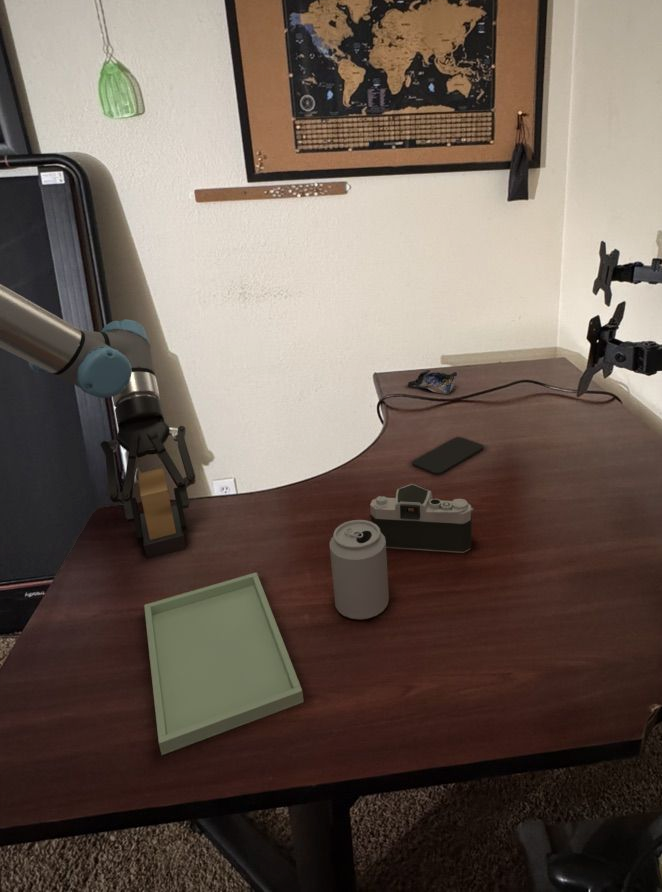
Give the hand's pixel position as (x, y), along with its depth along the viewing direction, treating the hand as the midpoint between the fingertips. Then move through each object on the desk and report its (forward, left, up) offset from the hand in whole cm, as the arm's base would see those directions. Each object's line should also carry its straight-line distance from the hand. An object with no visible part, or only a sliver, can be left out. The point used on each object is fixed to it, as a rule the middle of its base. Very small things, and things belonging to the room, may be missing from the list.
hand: (162, 533), depth 100 cm
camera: (+40, +12, -4) cm, 42 cm away
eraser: (-2, +3, -3) cm, 5 cm away
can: (+35, -5, -4) cm, 35 cm away
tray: (+20, -18, -3) cm, 27 cm away
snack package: (+28, +77, -4) cm, 82 cm away
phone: (+39, +40, -3) cm, 56 cm away
